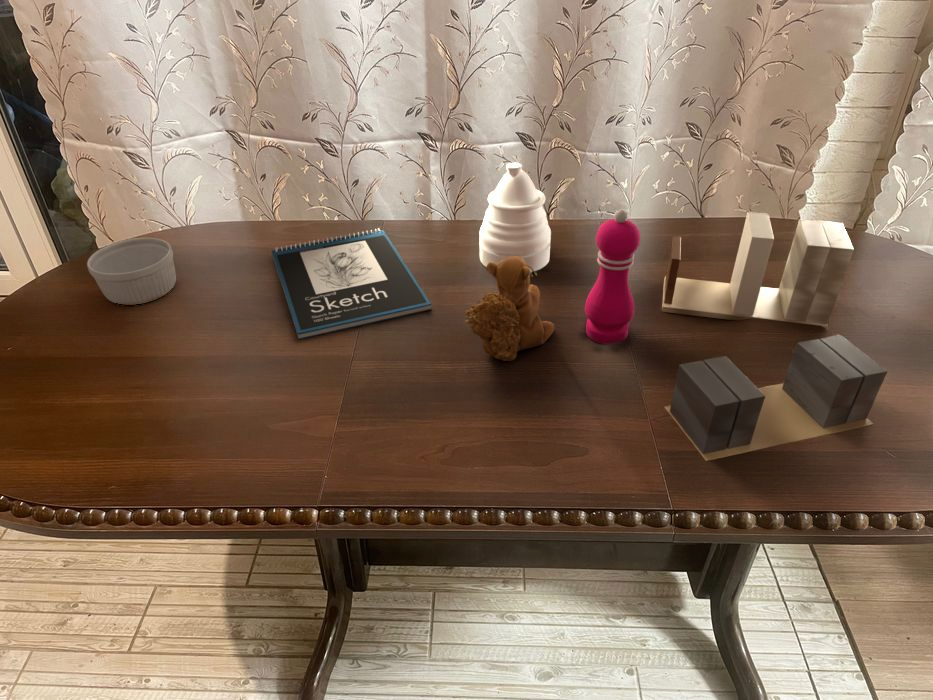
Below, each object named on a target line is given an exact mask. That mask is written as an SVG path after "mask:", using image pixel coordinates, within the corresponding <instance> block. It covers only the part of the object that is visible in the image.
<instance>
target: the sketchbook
mask: <svg viewBox="0 0 933 700" xmlns="http://www.w3.org/2000/svg"><path fill="white" fill-rule="evenodd" d="M303 243H304V244H302V242H299V245H297V243H295V244H294V246H293V244H289V245H290V246H289V247H288V245H287V244H286V245H285V247H283V245H281V246H280V248H279V247H278V246H274V249H273V250H272V249H271V255H272V258H273V261H274V265H275V268H276V272H277V274H278V278H279V281H280V284H281V286H282V290H283V293H284V296H285V300H286V303H287V306H288V309H289V313H290V316H291V319H292V322H293V325H294V329H295V331H296V335H297V338H298V340H302V339H306V338H313V337H316V336H320V335H324V334H330V333H333V332H339V331H343V330H347V329H352V328H357V327H361V326H366V325H369V324H374V323H378V322H379V323H380V322H383V321H386V320H387V321H388V320H391V319H396V318H400V317H404V316H405V317H406V316H410V315H413V314H419V313H423V312H428V311H432V309H433V307H432V303H431V301H430V299H429V298H428V297H427V295H426V293H425V292H424V290H423V289H422V287H421V286H420V284H419V282H418V281H417V280H416V278H415V276H414V275H413V273H412V272H411V270H410V269H409V267H408V265H407V264H406V262H405V261H404V260H403V258H402V257H401V255H400V253H399V252H398V250H397V249H396V247H395V246H394V244H393V243H392V241H391V239H390V238H389V236H388V235H387V233H386V231H385V230H384V229H380V227H378V228H377V229H376V228H374V231H373V230H372V229H370V232H369V231H368V230H366V232H364V231H362V230H361V233H360V232H359V231H357V234H355V232H353V235H351V233H348V236H347V235H346V234H344V236H343V237H342V234H341V235H339V237H338V235H335V238H334V237H333V236H331V237H330V239H329V237H326V240H325V239H324V238H322V240H320V238H319V239H317V242H316V241H315V239H314V240H312V242H311V240H308V243H306V241H303Z"/></svg>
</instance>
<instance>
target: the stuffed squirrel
mask: <svg viewBox="0 0 933 700" xmlns="http://www.w3.org/2000/svg"><path fill="white" fill-rule="evenodd" d="M531 269H532V268H531V267H530V266H528V265H527V264H526V262H525V261H524V260H523V259H522V258H521V257H518V256H512V257H509V258H506V259H504V260H501V261H500V262H499V263H498V264H494V263H492V262H490V263H488V264H487V266H486V270H487V271H488V272H489V273H490V274H491V275H492V276H493V277H494V278H495V280H496V288H497V293H494V292H492V293H486V294H484V295H483V296H484V297H481V300H478V301H477V303H475V304H472V305H471V307H470V308H469V309H468V310H466V311H464V315H465V319H467V320H464V323H466V324H468V325H469V328H470V331H472V333H473V334H475V335H477V336H478V337H479V338H480V340H482V348H483V351H484V353H485V354H486V355H487V356H489V357H492V358H494V359H496V360H501V361H502V362H506V361H507V362H512V361H514V360H515V359H516V358H517V356H518V354H517V353H518V352H520V351H522V350H527V349H532V348H535V347H538V346H541V345H543V344H545V342H546V341H547V340H548V339H550V337H551V336H552V334H553V333H554V330H555V324H554V323H553V322H551V321H548V320H545V321H542V320H541V318H540V315H538V312H539V304H540V297H541V293H540V290H539V287H538V286H537V285H535V284H531V278H533V277H534V275H535V276H538V274H537V271H534V270H533V269H532V270H533V272H531ZM533 273H534V275H533Z"/></svg>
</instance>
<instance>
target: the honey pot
mask: <svg viewBox="0 0 933 700" xmlns="http://www.w3.org/2000/svg"><path fill="white" fill-rule="evenodd" d="M505 168H506V173H505V174H504V175H503V176H502V178H501V179H500V181H499V182H498V184H497V186H496V188H495V189H494V190H493V191H491V192H490V193H489V194H488V197H487V202H488V204H489V205H488V207H487V209H486V210H485V213H484V218H483V221H482V225H481V226H480V229H479V241H478V243H479V248H478V249H479V260H480V263H481V264H482V265H483V266H484V267H486V266H487V264H488V263H490V262H492V263H494V264H498V263H499V262H500V261H501V260H504V259H506V258H509V257H512V256H518V257H521V258H522V259H523V260H524V261H525V262H526V264H527V265H528V266H530V267H531V268H532V269H533V270H534V271H535V272H538V271H539V270H541V269H543V268H544V267H546V266H547V265H548V264H549V262H550V257H551V239H552V237H551V236H552V231H551V228H550V225H549V221H548V219H547V213H546V211H545V209H544V207H543V205H544V204H545V203H546V199H547V198H546V196H545V193H544V192H542V191H541V190H539V189H537V188H536V186H535V184H534V182H533V180H532V178H531V177H530V176H529V175H528V173H527V172H526V171H525V170H523V169H522V168H523V164H521V163H520V162H515V161H514V162H507V163H506V164H505ZM532 269H531V272H532V273H534V272H533V270H532Z"/></svg>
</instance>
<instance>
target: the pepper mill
mask: <svg viewBox="0 0 933 700" xmlns="http://www.w3.org/2000/svg"><path fill="white" fill-rule="evenodd" d="M628 217H629V216H628V212H627V211H625V210H624V209H618V210H617V211H616V212H614V215H613V218H611V219H608V220H606V221H604V222H602V224H601V225H600V226H599V228H598V229H597V232H596V236H595V244H596V247H597V248H598V250H599V251H597V256H598V257H597V263H598V265H599V272H598V276H597V279H596V281H595V283H594V285H593V287H592V288H591V290H590V292H588V295H587V298H586V300H585V305H584V313H585V315H586V317H587V320H586V325H585V334H586V336H587V337H588V338H589V339H590V340H592V341H593V342H595V343H598V344H602V345H609V344H614V343H619V342H624V341H625V340H626V339H627V337H628V334H629V329H630V328H629V327H630V325H629V323H630V322H631V320H632V319H633V318H634V315H635V300H634V296H633V294H632V291H631V288H630V285H629V273H630V268H632V267H633V265H634V259H635V254H634V253H635V252H636V251H637V250H638V249H639V247H640V243H641V232H640V229H639V227H638V226H637V225H636V224H635V223H634V222H633V221H631V220H629V219H628Z"/></svg>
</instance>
